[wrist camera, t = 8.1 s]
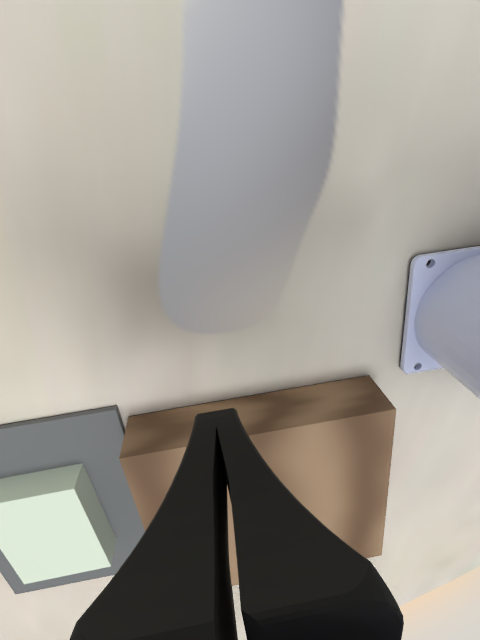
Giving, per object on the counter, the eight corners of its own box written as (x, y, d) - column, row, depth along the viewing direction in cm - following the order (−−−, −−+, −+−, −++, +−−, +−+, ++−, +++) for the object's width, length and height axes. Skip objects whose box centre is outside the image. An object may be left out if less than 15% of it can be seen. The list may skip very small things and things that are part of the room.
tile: (-28, 508, 22) (-11, 480, 23) (24, 584, 25) (35, 555, 27) (73, 488, 22) (82, 463, 24) (111, 566, 25) (116, 538, 27)
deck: (369, 375, 24) (396, 409, 21) (361, 512, 30) (381, 555, 27) (128, 416, 23) (119, 458, 20) (171, 550, 29) (169, 598, 26)
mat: (116, 405, 23) (115, 409, 22) (167, 559, 30) (167, 564, 29) (-83, 439, 22) (-88, 444, 21) (18, 588, 29) (15, 594, 28)
